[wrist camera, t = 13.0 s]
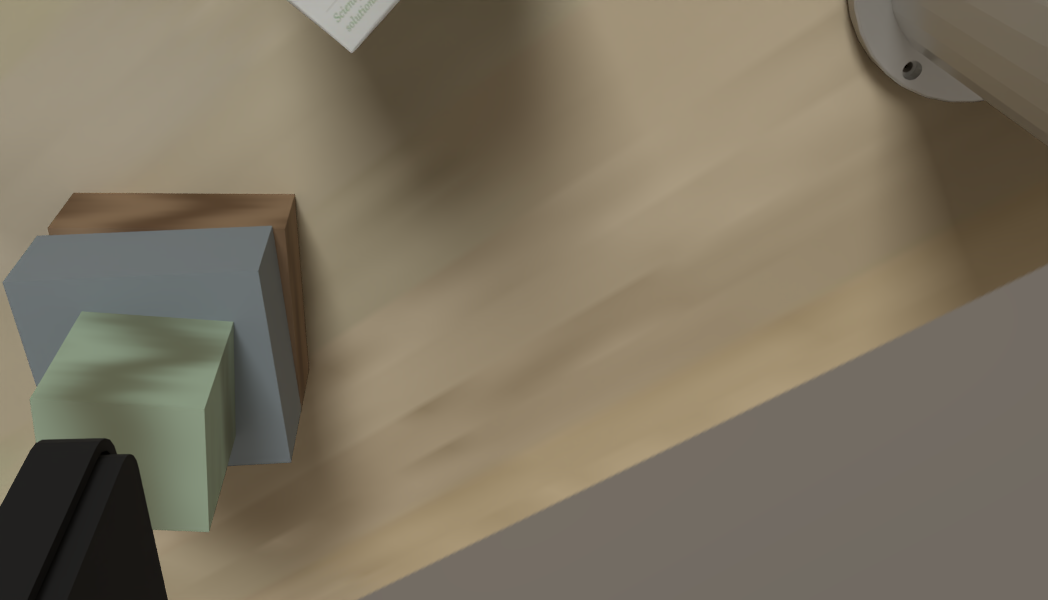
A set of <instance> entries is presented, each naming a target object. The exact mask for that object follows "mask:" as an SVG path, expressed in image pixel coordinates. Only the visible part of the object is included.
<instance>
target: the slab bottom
mask: <svg viewBox="0 0 1048 600" xmlns="http://www.w3.org/2000/svg"><path fill="white" fill-rule="evenodd" d="M253 226H272V228H273V234H274V240H275V247H276V253H277V259H278V265H279V272H280V278H281V284H282V291H283V297H284V303H285V309H286V316H287V322H288V328H289V335H290V341H291V347H292V354H293V360H294V366H295V372H296V379H297V385H298V391H299V398H300V404H301V410H302V405H303V399H304V394H305V389H306V384H307V378H308V373H309V362H308V350H307V338H306V326H305V313H304V301H303V289H302V277H301V265H300V253H299V240H298V228H297V216H296V204H295V194H163V193H73V194H72V196H71V197H70V198H69V200H68V201H67V202H66V204H65V205H64V207H63V208H62V209H61V211H60V212H59V213H58V215H57V216H56V217H55V219H54V220H53V222H52V223H51V224H50V226H49V227H48V232H49V235H70V234H93V233H115V232H138V231H161V230H184V229H207V228H230V227H253Z"/></svg>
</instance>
